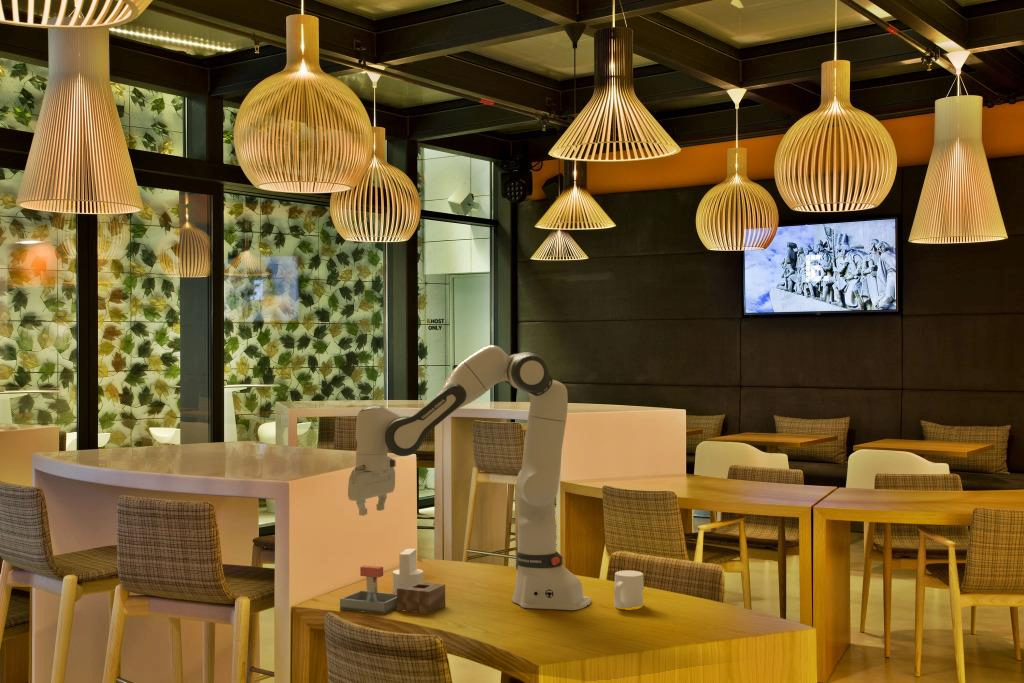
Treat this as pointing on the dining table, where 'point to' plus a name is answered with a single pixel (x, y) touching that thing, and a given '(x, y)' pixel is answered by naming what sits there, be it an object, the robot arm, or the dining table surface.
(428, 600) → the wooden square hole block
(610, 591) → the dining table surface
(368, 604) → the tray
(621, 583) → the mug
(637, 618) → the dining table surface
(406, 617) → the dining table surface
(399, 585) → the base with upright slab
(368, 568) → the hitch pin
